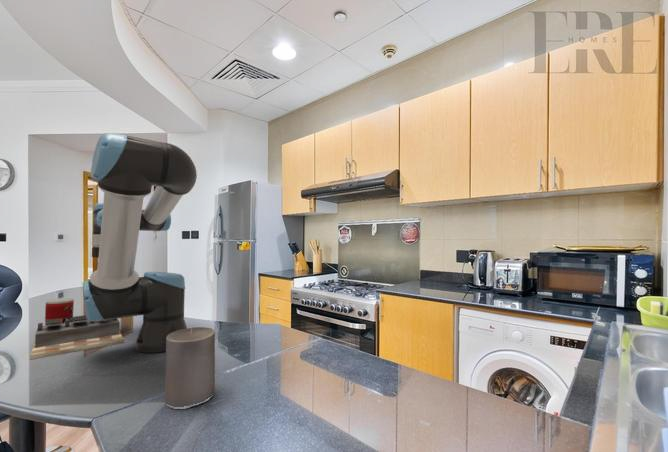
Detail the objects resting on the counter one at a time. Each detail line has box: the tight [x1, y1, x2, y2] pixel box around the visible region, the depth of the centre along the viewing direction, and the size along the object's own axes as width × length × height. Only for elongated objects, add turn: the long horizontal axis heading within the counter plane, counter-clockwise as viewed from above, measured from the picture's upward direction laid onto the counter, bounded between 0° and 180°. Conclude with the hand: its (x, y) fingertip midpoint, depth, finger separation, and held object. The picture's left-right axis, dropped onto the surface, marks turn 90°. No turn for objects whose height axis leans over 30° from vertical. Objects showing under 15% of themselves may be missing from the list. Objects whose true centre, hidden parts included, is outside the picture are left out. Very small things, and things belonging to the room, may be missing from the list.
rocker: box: [46, 318, 62, 325], centre depth 101 cm, size 9×4×1 cm, turn 41°
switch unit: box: [29, 318, 125, 360], centre depth 102 cm, size 18×22×7 cm
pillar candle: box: [164, 326, 216, 407], centre depth 67 cm, size 10×10×15 cm
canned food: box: [44, 297, 75, 326], centre depth 117 cm, size 8×8×11 cm
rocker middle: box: [73, 314, 88, 322], centre depth 105 cm, size 9×4×1 cm, turn 41°
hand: (102, 311), depth 112 cm, fingers closed
